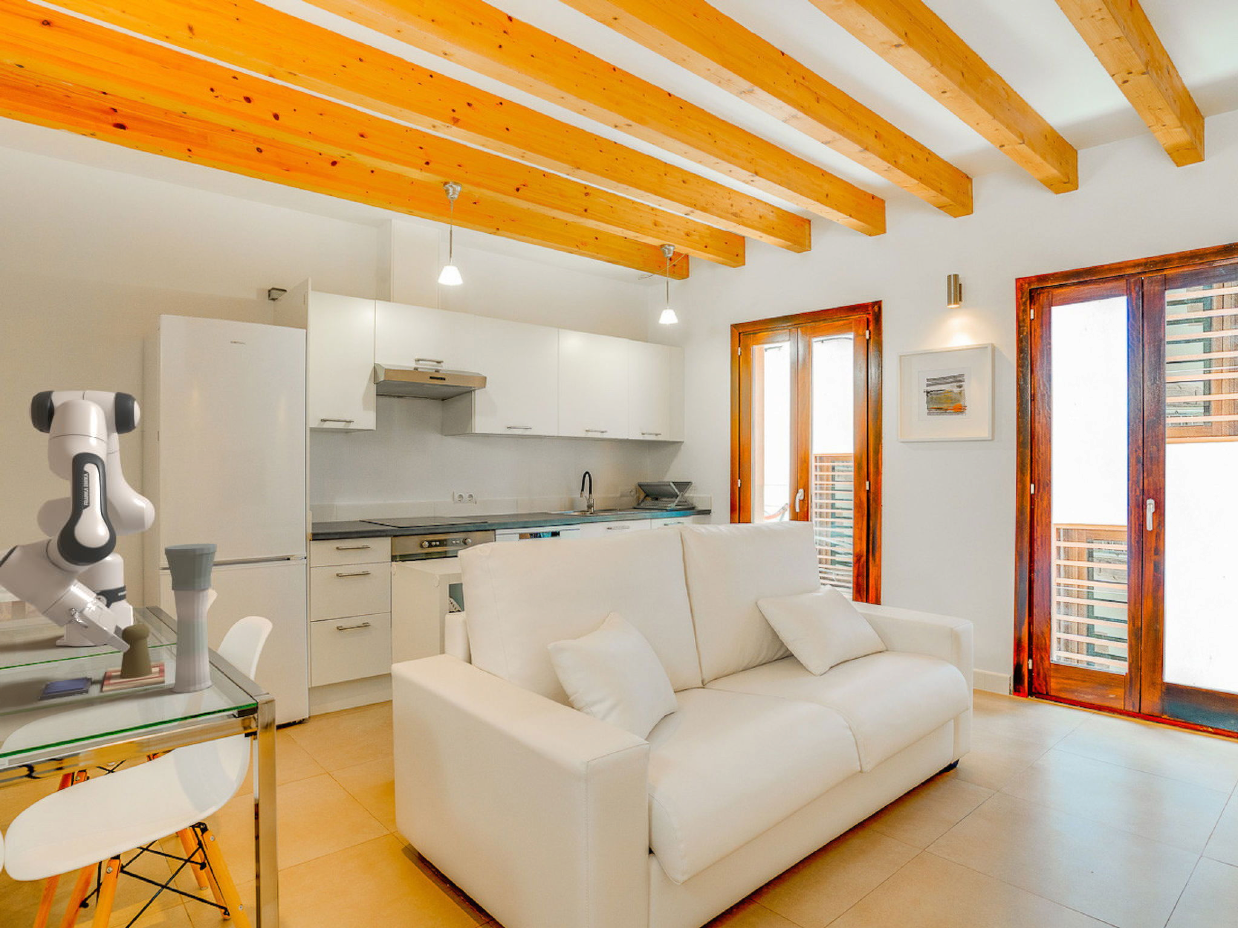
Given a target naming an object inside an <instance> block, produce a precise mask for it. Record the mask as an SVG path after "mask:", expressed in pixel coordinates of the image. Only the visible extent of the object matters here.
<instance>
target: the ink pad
mask: <svg viewBox="0 0 1238 928" xmlns="http://www.w3.org/2000/svg"><path fill="white" fill-rule="evenodd" d="M92 681H93V677H88V676H85V677H78V678H71V679H65V680H57V681H50V682H48V683H45V684H44V686H43V688H42V690H41V692H40V694H39V695H38V701H44V700H45V699H46V700H51V699H58V698H57V697H60V698H63V697H64V698H65V696H66V697H71V696H72V695H73V696H76V695H75V694H80V695H84V694H83V693H87V694H89V691H90V689H91V686H90V685H92ZM89 688H90V689H89Z"/></svg>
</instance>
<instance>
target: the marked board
mask: <svg viewBox="0 0 1238 928" xmlns="http://www.w3.org/2000/svg"><path fill="white" fill-rule="evenodd" d="M151 668H152V673H151V674H150V675H147V676H144V677H139V678H132V679H123V678H120V673H121V667H115V668H109V669H107V672H106V674H105V679H104V683H103V688H102V693H107V692H115V691H120V690H128V689H127V688H129V689H134V688H133V687H136V688H141V687H147V686H153V685H154V686H155V685H161V684H165V682H166V679H165V678H166V675H165V673H166V671H165V668H166V667H165V661H159V662H151Z"/></svg>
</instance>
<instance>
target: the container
mask: <svg viewBox="0 0 1238 928" xmlns="http://www.w3.org/2000/svg"><path fill="white" fill-rule="evenodd" d="M217 550H218V549H217V544H216V543H188V544H178V545H177V544H176V545H168V546H165V547H164V555H165V556H166V557H165V558H166V560H167V561H166V562H167V564H168V569H169V573H170V577H171V591H173V595H174V603H175V612H176V653H175V670H174V671H175V676H174V685H173V688H172V691H173V692H174V693H178V694H188V693H189V694H190V693H196V692H199V691H204V690H207V689H209V688H210V687H212V686H213V683H212V681H211V680H212V679H211V671H210V660H209V647H208V646H209V645H208V644H209V643H208V627H207V611H208V601H209V591H210V590H209V589H210V587H212V578H211V576H212V571H213V565H214V561H215V558H216V553H217Z"/></svg>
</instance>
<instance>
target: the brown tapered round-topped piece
mask: <svg viewBox="0 0 1238 928" xmlns="http://www.w3.org/2000/svg"><path fill="white" fill-rule="evenodd" d="M149 636H150V628H149V626H148V625H146V624H133V625H131V626H128V627H126V628H124V629H123V631H122V639H123V640H124V641H125V642H127V643H128V644H129V645H130V648H129V649H128V650H127V651H126V652H124V653H123V652H122V659H121V667H120V668H121V673H120V678H123V679H132V678H139V677H144V676H147V675H150V674H151V673H152V668H151V663H152V662H151V657H150V652H149V645H148V638H149Z"/></svg>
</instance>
